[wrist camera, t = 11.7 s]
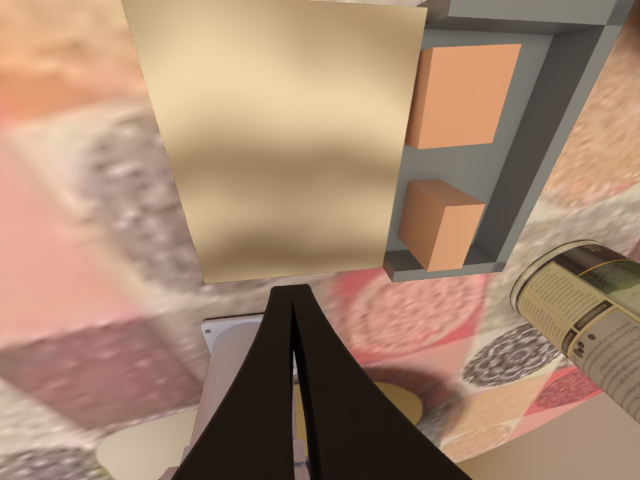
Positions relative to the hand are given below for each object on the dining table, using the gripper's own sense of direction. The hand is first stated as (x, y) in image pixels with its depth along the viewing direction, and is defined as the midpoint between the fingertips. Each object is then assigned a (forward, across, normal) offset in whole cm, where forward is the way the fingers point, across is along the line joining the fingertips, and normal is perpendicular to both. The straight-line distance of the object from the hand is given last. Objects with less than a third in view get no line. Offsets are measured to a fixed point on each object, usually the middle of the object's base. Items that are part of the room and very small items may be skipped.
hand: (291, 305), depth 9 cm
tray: (+10, -12, -3) cm, 16 cm away
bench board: (+10, -1, -3) cm, 10 cm away
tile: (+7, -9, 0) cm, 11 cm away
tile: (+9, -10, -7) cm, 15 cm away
